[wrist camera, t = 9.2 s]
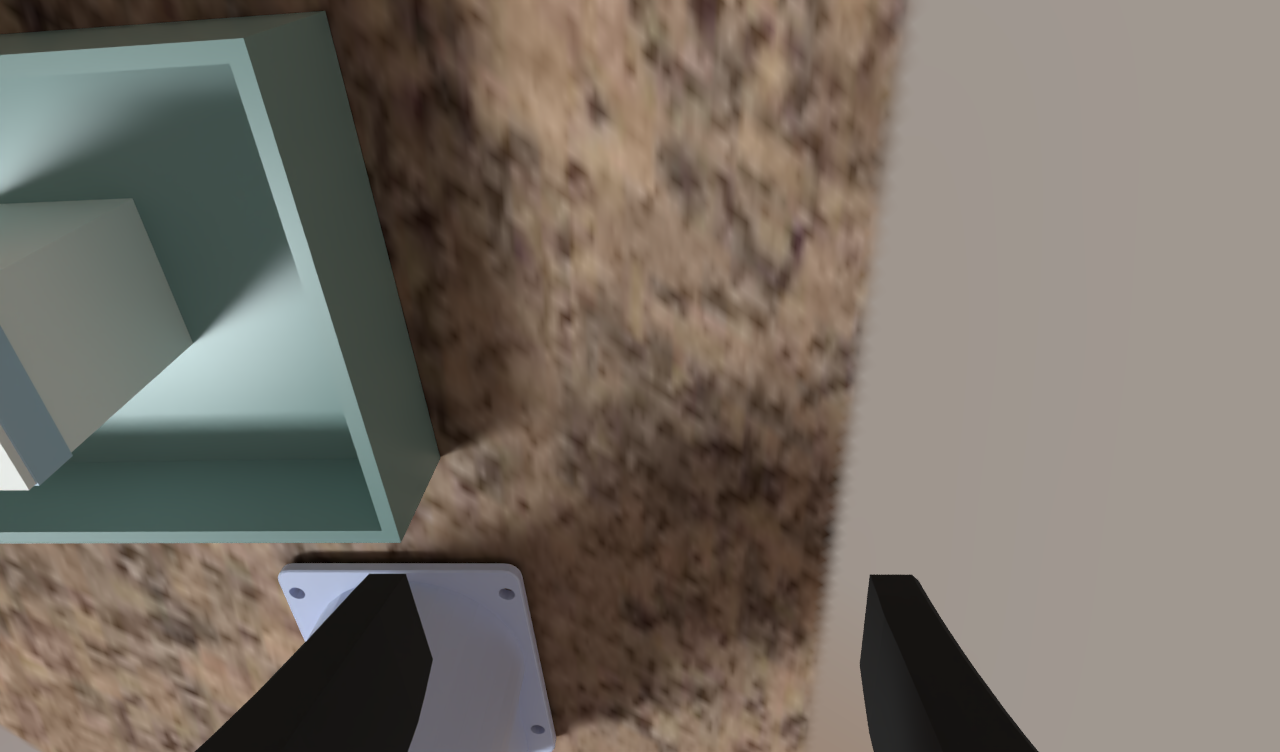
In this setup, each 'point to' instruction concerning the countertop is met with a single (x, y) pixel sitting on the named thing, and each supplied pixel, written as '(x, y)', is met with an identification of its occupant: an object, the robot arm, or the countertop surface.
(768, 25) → the countertop surface
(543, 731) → the robot arm
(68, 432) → the milk carton
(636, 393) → the countertop surface
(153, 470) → the tray
